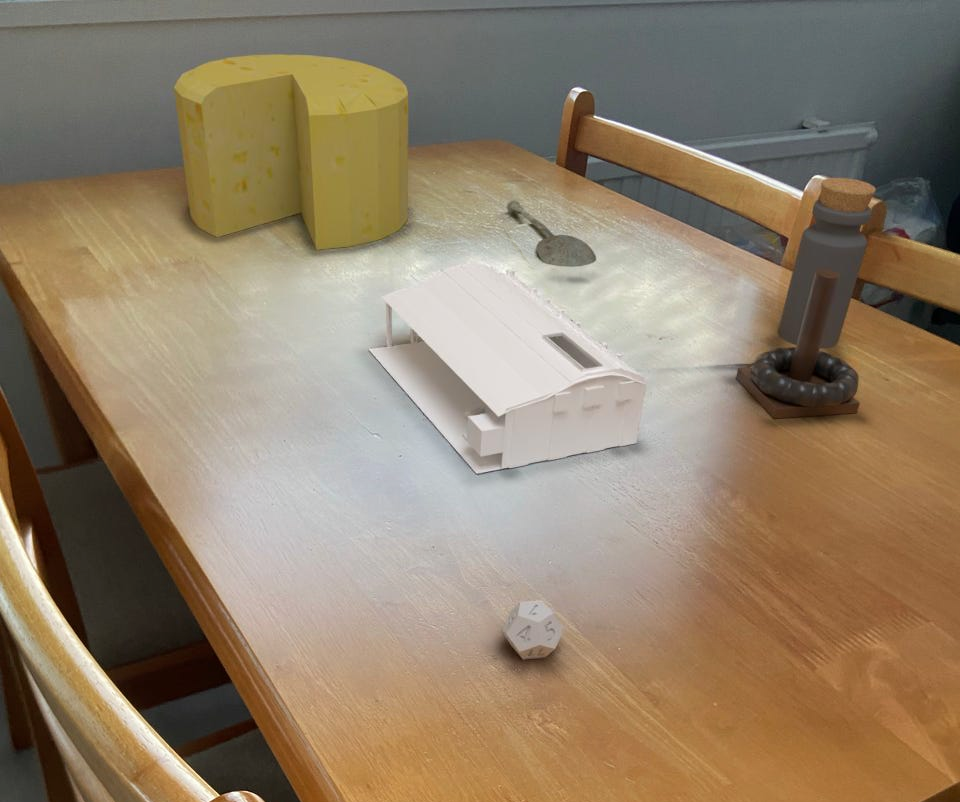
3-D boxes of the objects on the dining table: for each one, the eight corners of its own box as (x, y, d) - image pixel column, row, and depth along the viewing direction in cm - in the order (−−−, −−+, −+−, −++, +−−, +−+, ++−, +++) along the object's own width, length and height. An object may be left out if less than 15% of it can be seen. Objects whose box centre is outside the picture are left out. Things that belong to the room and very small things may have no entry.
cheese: (243, 264, 109) (227, 110, 99) (159, 195, 125) (138, 58, 115) (448, 230, 120) (452, 90, 111) (347, 171, 137) (342, 45, 127)
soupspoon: (546, 284, 110) (601, 284, 112) (551, 254, 108) (607, 253, 110) (488, 213, 126) (537, 213, 127) (491, 184, 123) (541, 185, 125)
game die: (568, 640, 63) (573, 602, 61) (545, 675, 60) (550, 637, 58) (516, 623, 64) (519, 585, 62) (491, 657, 61) (494, 618, 59)
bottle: (764, 335, 101) (802, 176, 91) (814, 330, 102) (857, 174, 93) (795, 360, 97) (839, 196, 87) (847, 354, 98) (896, 193, 88)
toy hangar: (365, 346, 94) (363, 272, 90) (505, 326, 99) (510, 255, 95) (478, 477, 77) (483, 393, 73) (640, 444, 82) (654, 364, 78)
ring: (826, 362, 94) (832, 342, 93) (873, 408, 87) (880, 387, 86) (734, 366, 92) (738, 345, 91) (774, 413, 86) (779, 391, 84)
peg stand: (814, 373, 94) (847, 254, 87) (856, 413, 89) (896, 289, 82) (735, 378, 93) (763, 257, 86) (774, 419, 87) (806, 293, 80)
